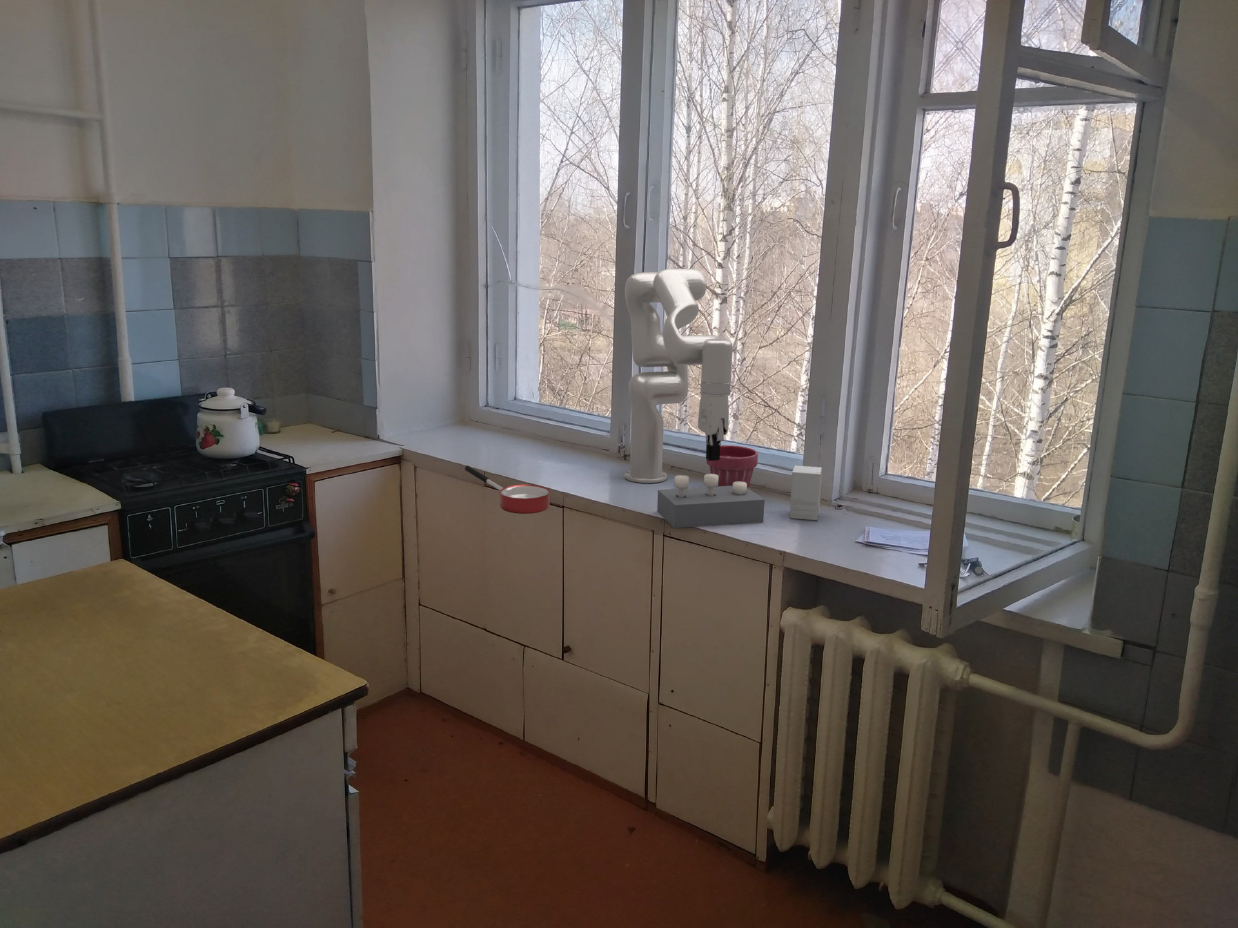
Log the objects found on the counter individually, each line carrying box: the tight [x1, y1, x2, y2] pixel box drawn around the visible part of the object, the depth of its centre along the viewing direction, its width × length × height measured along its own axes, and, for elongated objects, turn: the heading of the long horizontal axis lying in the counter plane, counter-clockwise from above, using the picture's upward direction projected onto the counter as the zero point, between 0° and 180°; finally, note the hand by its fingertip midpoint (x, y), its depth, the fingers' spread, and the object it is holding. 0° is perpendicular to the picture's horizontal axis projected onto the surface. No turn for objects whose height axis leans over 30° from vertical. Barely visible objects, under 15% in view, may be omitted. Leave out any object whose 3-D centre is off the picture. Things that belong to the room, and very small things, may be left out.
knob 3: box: [732, 481, 747, 495], centre depth 248 cm, size 4×4×7 cm
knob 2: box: [703, 473, 718, 496], centre depth 246 cm, size 4×4×7 cm
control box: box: [656, 486, 765, 529], centre depth 247 cm, size 14×24×6 cm, turn 106°
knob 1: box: [674, 474, 690, 498], centre depth 243 cm, size 4×4×7 cm
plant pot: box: [705, 444, 759, 489], centre depth 266 cm, size 14×14×13 cm
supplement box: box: [789, 465, 823, 521], centre depth 249 cm, size 7×7×13 cm
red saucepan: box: [464, 465, 551, 515], centre depth 258 cm, size 32×13×6 cm, turn 51°
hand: (712, 459), depth 243 cm, fingers closed
